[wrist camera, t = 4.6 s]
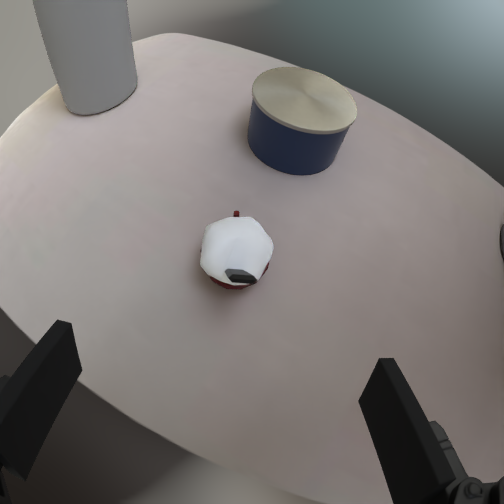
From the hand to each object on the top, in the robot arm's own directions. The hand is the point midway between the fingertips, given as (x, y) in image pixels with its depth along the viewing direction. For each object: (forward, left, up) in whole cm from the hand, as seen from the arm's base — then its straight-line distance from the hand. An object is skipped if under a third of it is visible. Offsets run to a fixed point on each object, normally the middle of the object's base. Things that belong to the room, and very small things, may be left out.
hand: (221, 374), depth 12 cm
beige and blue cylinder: (-16, -26, -16) cm, 34 cm away
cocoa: (-4, -10, -16) cm, 19 cm away
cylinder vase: (+10, -44, -16) cm, 48 cm away
